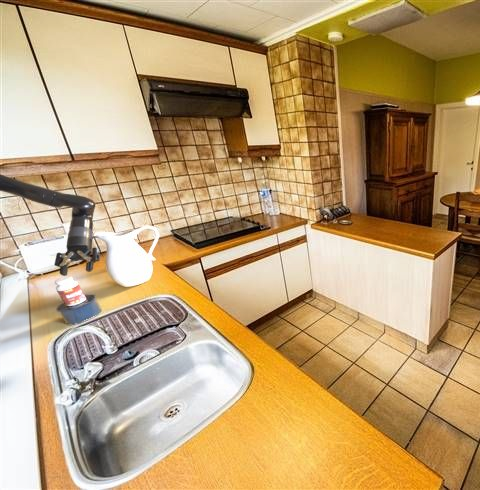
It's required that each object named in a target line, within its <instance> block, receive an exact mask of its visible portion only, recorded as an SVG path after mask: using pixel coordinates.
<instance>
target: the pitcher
mask: <svg viewBox="0 0 480 490" xmlns="http://www.w3.org/2000/svg"><path fill="white" fill-rule="evenodd" d="M147 229H148V230H152V231H153V232H154V239H153V242H152V244H151V246H150V247H149V250H148V252H147V251H146V250H145V249H144V248H143V247H142V246H140V244H138V242H136V240H137V239H138V234H139V233H140V232H141V231H143V230H147ZM93 238H95V239H98V240H101V241H103V242H104V243H105V245H106V253H105V254H106V255H105V268H106V271H107V273H108V275H109V277H110V278H111V280H112V281H113V282H115V283H116V284H118V285H119V286H121V287H125V288H128V287H129V288H130V287H135V286H138V285H141V284H143V283H146V282H148V281H149V280H150V279H151V277H152V274H153V269H154V268H153V263H152V261H156V258H155V257H154V256H153V251H154V249H155V247H156V245H157V243H158V241H159V238H160V232H159V230H158V229H157V228H156V227H155V226H153V225H143V226H140V227H139V228H137V229H136V228H131V229H127V230H124V231H121V232H120V231H119V232H108V231H98V232H95V233H94V234H93ZM135 239H136V240H135Z"/></svg>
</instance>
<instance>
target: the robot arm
mask: <svg viewBox="0 0 480 490" xmlns="http://www.w3.org/2000/svg"><path fill="white" fill-rule="evenodd" d="M0 192H3V193H7V194H11V195H14V196H16V197H19V198H22V199H25V200H27V201H31V202H34V203H37V204H39V205H40V204H41V205H44V206H48V207H51V208H56V209H62V208H63V207H67V208H71V220H70V224H69V230H68V233H67V239H66V240H67V242H66V251H65V252H56V255H55V259H54V264H53V265H54V266H55V267H57V268H59V274H60V276H62V277H67V276H68V271H69V266H70V265H72V264H74V263H75V262H80V261H86V264H85V271H86V272H88V273H91V272H92V271H94V264H95V263H96V262H97V263H99V262H101V250H100V248H98V247H95V246H94V247H93V238H94V237H93V235H94V234H93V231H94V219H93V217H94V214H95V213H94V212H95V209H96V202H95V201H94V200H93V199H91V198H90V197H87V196H84V195H78V194H72V193H64V192H61V191H57V190H53V189H50V188H47V187H43V186H39V185H36V184H32V183H28V182H24V181H22V180H19V179H15V178H12V177H10V176H7V175H4V174H2V173H0ZM91 254H92V255H91ZM90 255H91V256H90Z"/></svg>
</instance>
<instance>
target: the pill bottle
mask: <svg viewBox="0 0 480 490" xmlns="http://www.w3.org/2000/svg"><path fill="white" fill-rule="evenodd" d="M54 284H55V285H56V287H55V290H56V292H57V294H58V295H59V297H60V299H61V301H62V303H64V304H65V305H66V306H73V305H77V304H79V303H81V302H83V301H85V300H86V297H85V295H86V294H85V293H84V291H83V289H82V288H81V286H80V283H79V282H78V281H76V280H74V278H73V276H70V275H67V276H62V277H60V278H57V279H56V280H54Z"/></svg>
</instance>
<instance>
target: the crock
mask: <svg viewBox="0 0 480 490" xmlns="http://www.w3.org/2000/svg"><path fill="white" fill-rule="evenodd" d="M84 295H85V297H86V300H85V301H83V302H81V303H79V304H77V305H73V306H66V305H65V304H64V302H61V304H59V305H57V307H56V309H55V310H56V312H58V313H59V315H60V316H61V317H62V319H63V320H64V322H65V324H67V325H69V324H73V325H76V324H75V323H78V324H80V323H79V322H82V321H84V320H86V319H89V318H91V317H93V316H95V315H97V314H98V315H100V314H101V313H102V312H103V308H102V307H101V306H100V303H99V302H98V300H97V296H96V295H95V294H93V293H90V294H84ZM99 313H100V314H99ZM98 315H97V316H98ZM95 317H96V316H95ZM82 323H83V322H82Z"/></svg>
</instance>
